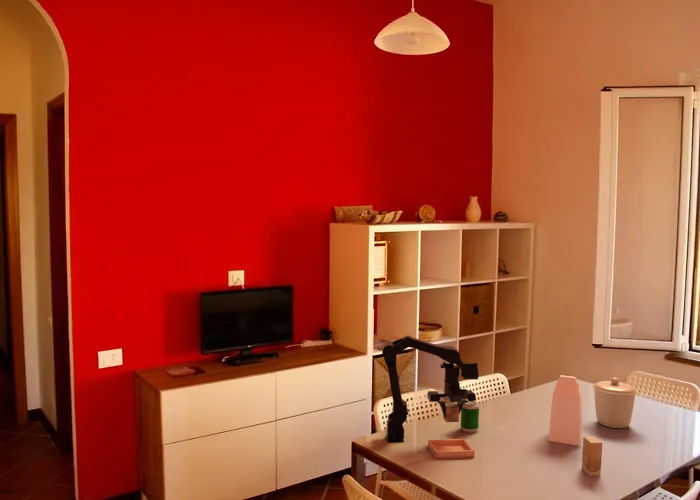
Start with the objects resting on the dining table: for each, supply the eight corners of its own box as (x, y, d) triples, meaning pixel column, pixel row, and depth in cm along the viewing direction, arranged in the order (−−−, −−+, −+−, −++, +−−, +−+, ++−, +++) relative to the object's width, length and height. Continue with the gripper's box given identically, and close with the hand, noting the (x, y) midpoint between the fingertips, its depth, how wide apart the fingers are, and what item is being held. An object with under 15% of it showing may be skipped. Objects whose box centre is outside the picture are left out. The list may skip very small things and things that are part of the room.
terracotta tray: (435, 458, 224) (435, 452, 224) (428, 446, 236) (428, 440, 236) (474, 457, 225) (474, 451, 225) (464, 445, 237) (465, 439, 237)
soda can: (478, 434, 250) (479, 406, 249) (460, 432, 251) (461, 404, 250) (478, 427, 257) (479, 400, 256) (460, 426, 258) (461, 399, 258)
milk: (581, 436, 249) (584, 375, 247) (579, 445, 238) (582, 382, 237) (551, 431, 254) (553, 371, 252) (548, 440, 244) (550, 378, 242)
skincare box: (581, 468, 217) (582, 435, 216) (592, 468, 217) (593, 435, 216) (589, 476, 210) (591, 442, 210) (601, 476, 211) (602, 442, 210)
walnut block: (446, 422, 237) (446, 407, 237) (443, 418, 242) (443, 403, 242) (458, 421, 238) (459, 407, 238) (455, 417, 243) (455, 403, 243)
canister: (590, 428, 258) (592, 380, 257) (591, 415, 275) (592, 370, 274) (637, 434, 252) (639, 385, 250) (634, 420, 268) (636, 374, 267)
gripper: (434, 385, 230) (433, 424, 231) (480, 384, 232) (479, 423, 233) (427, 377, 241) (426, 414, 242) (471, 376, 243) (471, 413, 244)
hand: (450, 416), depth 240 cm, fingers closed on walnut block, 5 cm apart
